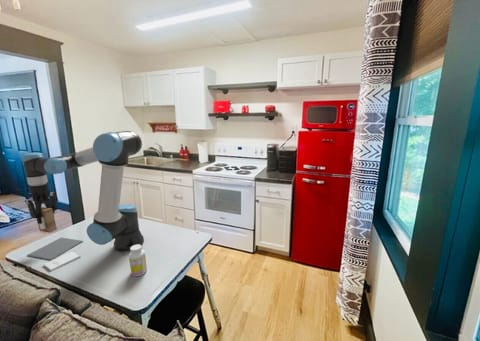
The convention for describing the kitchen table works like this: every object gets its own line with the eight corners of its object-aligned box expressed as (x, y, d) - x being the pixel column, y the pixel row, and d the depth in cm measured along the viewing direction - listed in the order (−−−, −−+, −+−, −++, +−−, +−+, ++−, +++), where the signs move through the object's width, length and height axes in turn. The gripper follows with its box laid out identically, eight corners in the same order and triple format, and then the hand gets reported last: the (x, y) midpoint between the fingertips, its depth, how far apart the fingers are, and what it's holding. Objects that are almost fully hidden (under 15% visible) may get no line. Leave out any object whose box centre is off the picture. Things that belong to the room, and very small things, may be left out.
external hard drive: (80, 258, 118) (51, 272, 107) (72, 253, 122) (43, 266, 111) (80, 255, 117) (50, 269, 107) (72, 251, 121) (43, 263, 111)
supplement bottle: (139, 266, 110) (136, 241, 107) (150, 269, 108) (147, 244, 105) (127, 274, 104) (124, 249, 101) (139, 278, 102) (135, 252, 99)
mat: (83, 241, 132) (83, 240, 132) (51, 260, 115) (50, 259, 115) (61, 238, 136) (61, 237, 136) (27, 255, 119) (27, 254, 119)
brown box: (57, 229, 122) (52, 208, 119) (50, 232, 119) (45, 211, 116) (47, 227, 124) (42, 207, 121) (39, 231, 120) (34, 209, 118)
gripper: (49, 179, 124) (57, 219, 129) (13, 188, 108) (24, 233, 114) (60, 179, 122) (68, 220, 128) (24, 189, 106) (35, 235, 112)
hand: (47, 226), depth 121 cm, fingers closed on brown box, 4 cm apart
